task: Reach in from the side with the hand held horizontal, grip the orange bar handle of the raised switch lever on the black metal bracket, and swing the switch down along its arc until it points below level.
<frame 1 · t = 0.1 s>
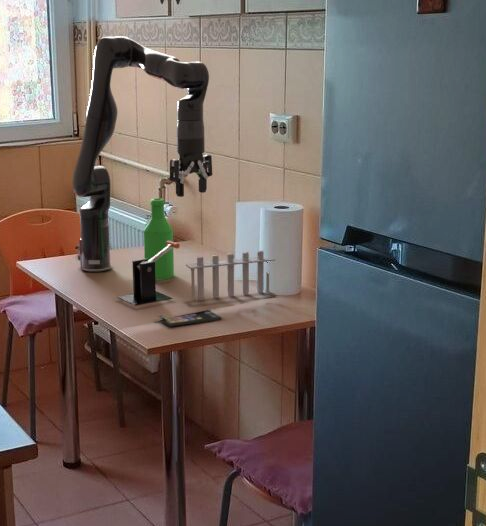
hand: (191, 194, 259), 29 cm above the table, tool pointing down, fingers open, 8 cm apart
lever: (157, 256, 260), point 12 cm above the table, hinge at 28.0°
bracket: (144, 301, 261), on the table
smartphone: (188, 320, 244), on the table
test tube rack: (230, 300, 260), on the table
bottle: (159, 280, 284), on the table
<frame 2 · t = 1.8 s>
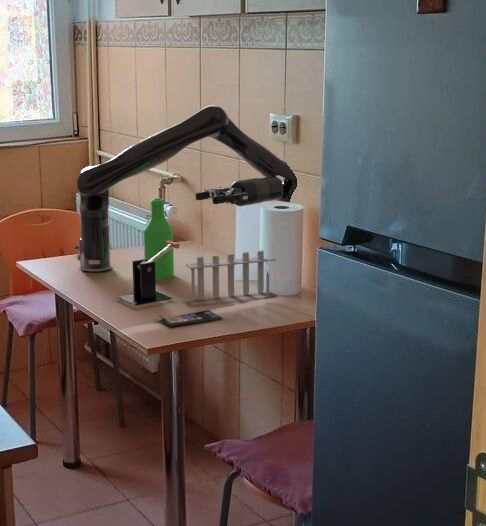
hand: (204, 198, 264), 27 cm above the table, tool horizontal, fingers open, 8 cm apart
nothing on the table moved.
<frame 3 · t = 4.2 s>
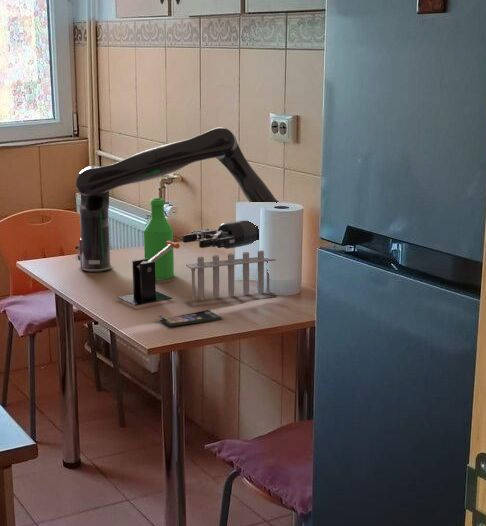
hand: (191, 241, 265), 15 cm above the table, tool horizontal, fingers open, 8 cm apart
nothing on the table moved.
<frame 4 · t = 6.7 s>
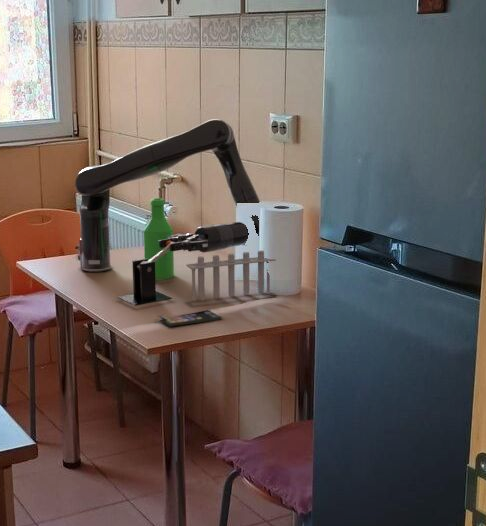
hand: (165, 245, 261), 15 cm above the table, tool horizontal, fingers closed on lever, 5 cm apart
lever: (157, 256, 260), point 12 cm above the table, hinge at 28.0°, touching gripper
everything else where it was.
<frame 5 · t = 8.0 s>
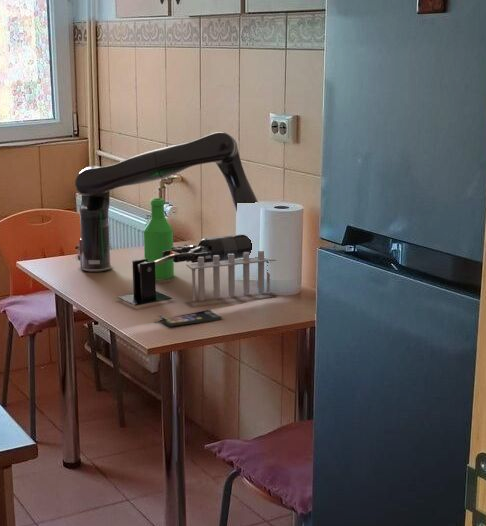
hand: (168, 256, 262), 12 cm above the table, tool horizontal, fingers closed on lever, 5 cm apart
lever: (159, 261, 261), point 11 cm above the table, hinge at 10.3°, touching gripper
everything else where it was.
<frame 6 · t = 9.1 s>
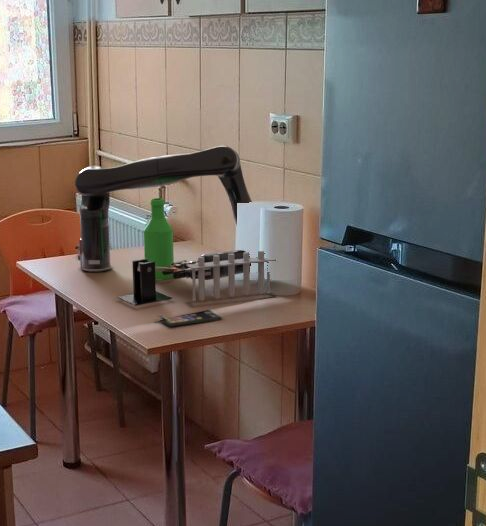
hand: (168, 273, 263), 7 cm above the table, tool horizontal, fingers closed on lever, 5 cm apart
lever: (159, 268, 262), point 9 cm above the table, hinge at -13.3°, touching gripper
everything else where it was.
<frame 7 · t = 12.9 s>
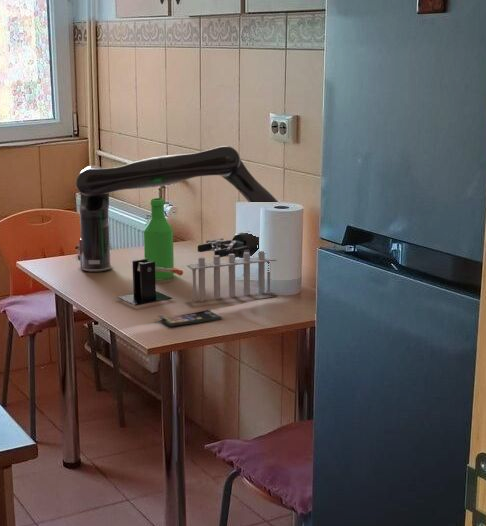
hand: (206, 251, 268), 11 cm above the table, tool horizontal, fingers open, 8 cm apart
lever: (159, 269, 262), point 9 cm above the table, hinge at -14.4°
everything else where it was.
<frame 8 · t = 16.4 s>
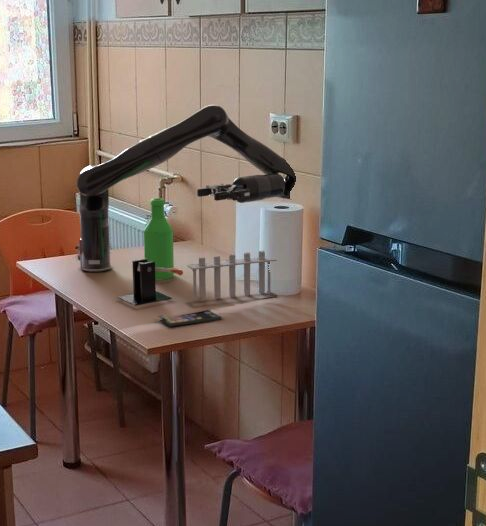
hand: (206, 194, 265), 28 cm above the table, tool horizontal, fingers open, 8 cm apart
nothing on the table moved.
at the end: lever at -14° (first picture: +28°); bottle moved 0.2 cm from its start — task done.
